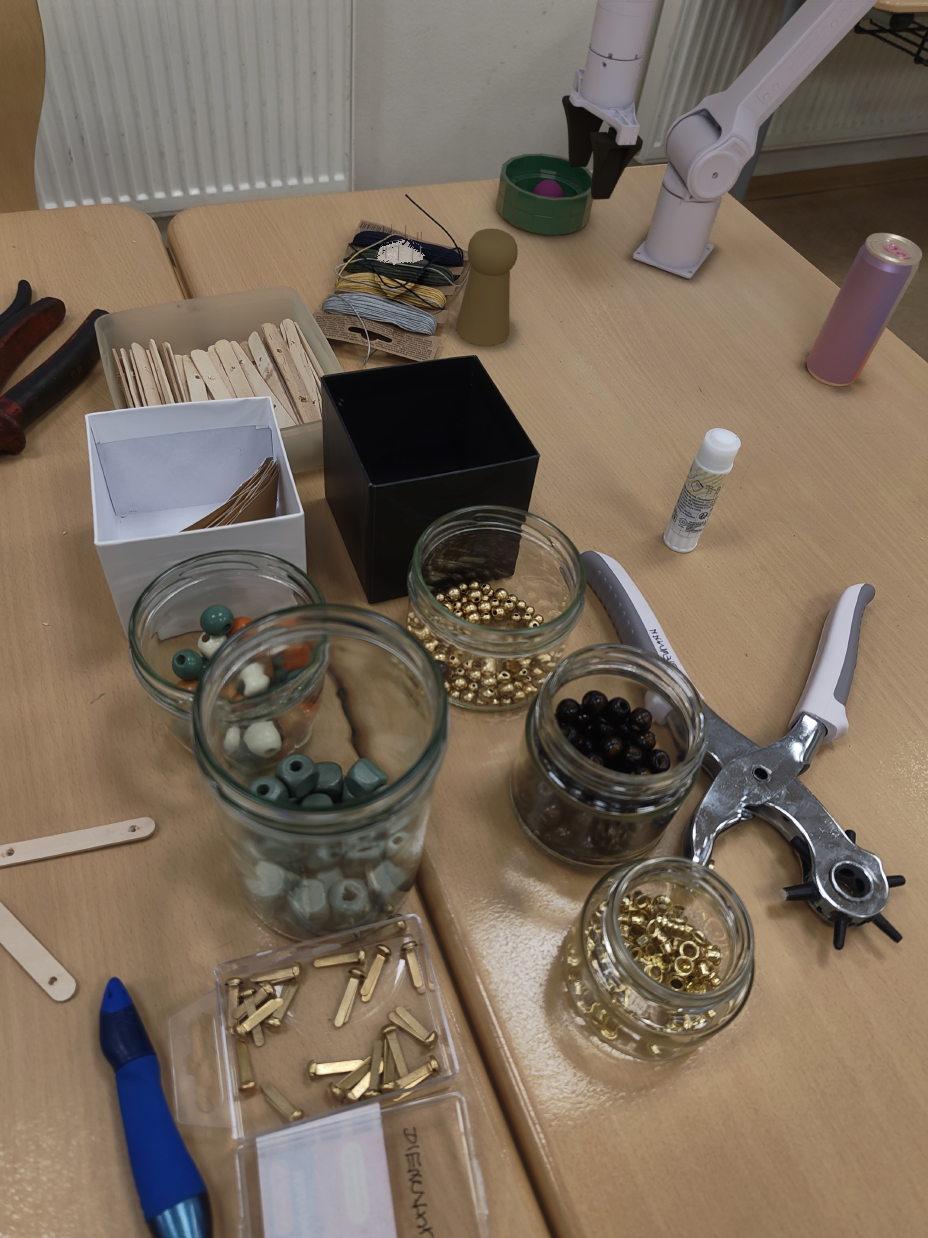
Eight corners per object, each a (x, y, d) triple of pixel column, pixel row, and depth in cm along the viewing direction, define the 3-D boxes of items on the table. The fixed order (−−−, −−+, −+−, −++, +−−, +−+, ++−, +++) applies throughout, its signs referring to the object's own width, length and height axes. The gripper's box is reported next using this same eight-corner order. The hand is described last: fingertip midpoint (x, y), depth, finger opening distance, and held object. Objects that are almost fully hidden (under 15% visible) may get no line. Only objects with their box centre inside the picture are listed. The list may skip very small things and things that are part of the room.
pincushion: (416, 307, 98) (419, 260, 94) (363, 298, 98) (363, 251, 94) (433, 253, 105) (437, 207, 101) (384, 245, 106) (385, 199, 101)
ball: (536, 194, 115) (547, 167, 111) (560, 211, 115) (573, 185, 111) (522, 207, 113) (533, 181, 109) (547, 225, 112) (559, 199, 109)
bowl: (521, 182, 119) (527, 144, 115) (602, 210, 116) (610, 172, 112) (480, 217, 112) (484, 177, 108) (564, 248, 109) (572, 209, 105)
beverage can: (828, 393, 96) (894, 267, 84) (793, 362, 99) (852, 236, 87) (867, 381, 98) (937, 257, 86) (831, 351, 101) (894, 227, 89)
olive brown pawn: (504, 350, 95) (518, 256, 86) (450, 339, 95) (459, 244, 86) (513, 320, 98) (528, 226, 90) (461, 309, 99) (471, 215, 90)
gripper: (557, 22, 93) (537, 152, 104) (605, 78, 85) (577, 214, 96) (617, 23, 95) (591, 151, 106) (670, 78, 87) (636, 211, 97)
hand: (588, 181), depth 101 cm, fingers open, 7 cm apart
